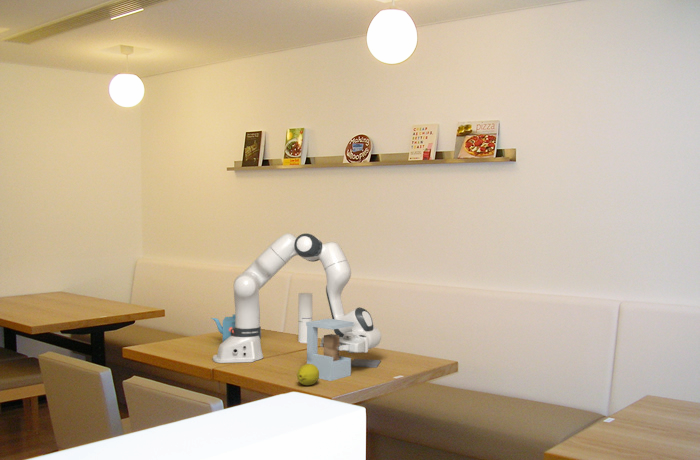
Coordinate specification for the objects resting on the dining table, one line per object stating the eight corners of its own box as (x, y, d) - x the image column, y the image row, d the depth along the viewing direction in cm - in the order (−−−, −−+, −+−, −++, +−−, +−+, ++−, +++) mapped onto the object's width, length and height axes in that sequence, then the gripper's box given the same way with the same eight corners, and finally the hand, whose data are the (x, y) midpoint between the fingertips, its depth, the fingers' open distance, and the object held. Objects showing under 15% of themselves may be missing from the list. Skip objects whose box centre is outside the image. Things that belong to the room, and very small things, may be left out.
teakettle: (237, 338, 332) (237, 311, 332) (262, 342, 320) (261, 314, 320) (208, 344, 317) (208, 315, 317) (233, 348, 305) (233, 318, 305)
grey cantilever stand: (328, 369, 262) (328, 318, 262) (353, 375, 253) (353, 322, 253) (306, 375, 252) (306, 322, 252) (331, 381, 243) (331, 325, 243)
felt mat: (349, 366, 269) (349, 364, 269) (354, 360, 281) (354, 358, 281) (376, 367, 267) (376, 366, 267) (380, 361, 278) (380, 360, 278)
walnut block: (331, 358, 257) (331, 333, 256) (339, 359, 254) (339, 335, 254) (323, 360, 253) (323, 335, 253) (331, 361, 250) (331, 336, 250)
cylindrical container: (310, 343, 319) (310, 294, 319) (296, 342, 321) (296, 294, 321) (313, 340, 326) (313, 292, 326) (300, 340, 328) (300, 292, 328)
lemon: (309, 380, 244) (309, 360, 244) (324, 384, 239) (324, 363, 239) (290, 386, 235) (290, 365, 235) (305, 390, 230) (305, 368, 230)
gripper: (334, 331, 270) (311, 335, 260) (371, 337, 256) (348, 342, 246) (334, 346, 270) (311, 350, 260) (370, 352, 257) (348, 358, 246)
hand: (330, 346), depth 253 cm, fingers open, 8 cm apart
